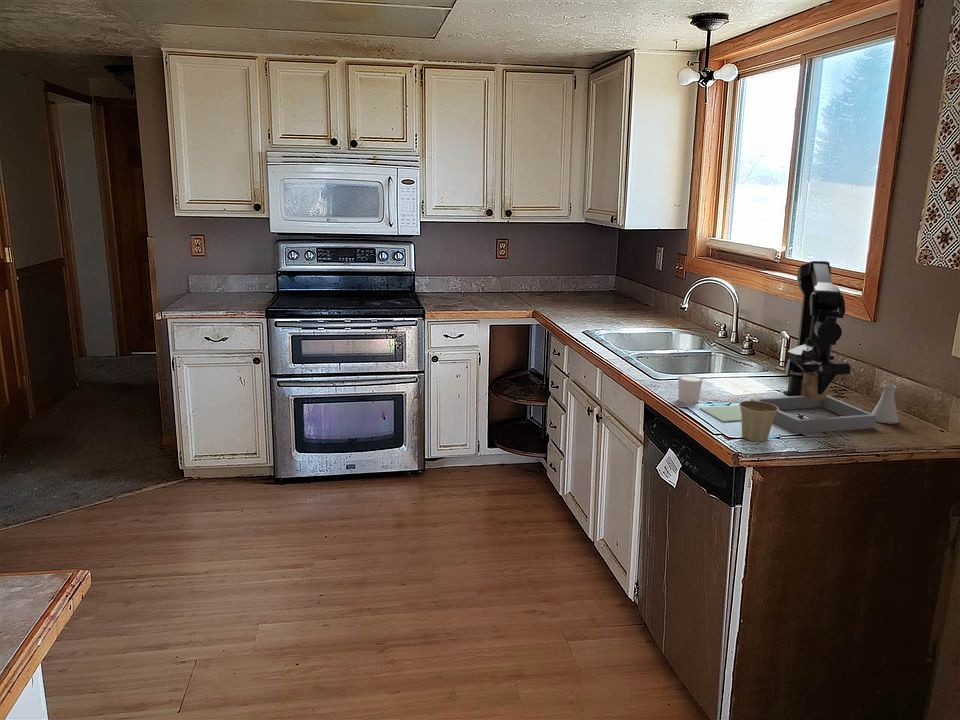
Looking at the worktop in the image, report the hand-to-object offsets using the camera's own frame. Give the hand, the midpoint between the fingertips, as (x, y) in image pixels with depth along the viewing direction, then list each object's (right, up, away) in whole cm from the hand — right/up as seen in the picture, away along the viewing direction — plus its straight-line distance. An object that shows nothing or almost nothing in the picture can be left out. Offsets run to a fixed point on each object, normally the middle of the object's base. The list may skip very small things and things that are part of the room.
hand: (814, 391), depth 203 cm
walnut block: (0, -1, 0) cm, 2 cm away
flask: (+20, -8, +2) cm, 22 cm away
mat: (-21, -7, +5) cm, 23 cm away
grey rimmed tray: (0, -8, +2) cm, 8 cm away
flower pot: (-22, -11, -14) cm, 28 cm away
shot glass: (-30, -4, +17) cm, 34 cm away
